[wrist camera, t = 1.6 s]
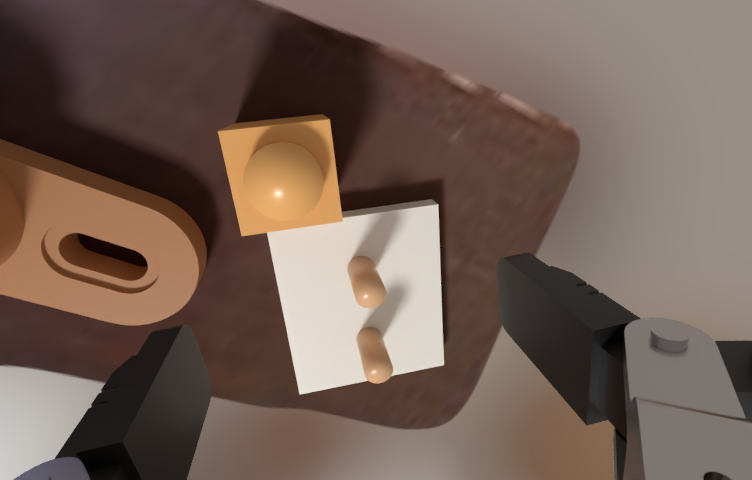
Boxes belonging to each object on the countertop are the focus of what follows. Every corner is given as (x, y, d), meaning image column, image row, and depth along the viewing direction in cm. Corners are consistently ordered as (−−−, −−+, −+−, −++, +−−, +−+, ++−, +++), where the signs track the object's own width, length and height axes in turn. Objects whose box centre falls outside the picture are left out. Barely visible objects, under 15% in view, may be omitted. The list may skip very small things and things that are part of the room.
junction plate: (299, 381, 33) (300, 434, 28) (267, 222, 28) (261, 250, 23) (438, 354, 35) (462, 398, 29) (431, 199, 30) (459, 220, 24)
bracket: (-123, 232, 24) (-276, 282, 17) (-104, 100, 22) (-268, 102, 16) (186, 318, 29) (156, 380, 23) (223, 218, 27) (202, 256, 21)
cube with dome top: (252, 207, 27) (239, 242, 21) (234, 123, 25) (214, 132, 19) (333, 196, 28) (344, 226, 22) (322, 114, 26) (331, 120, 20)
